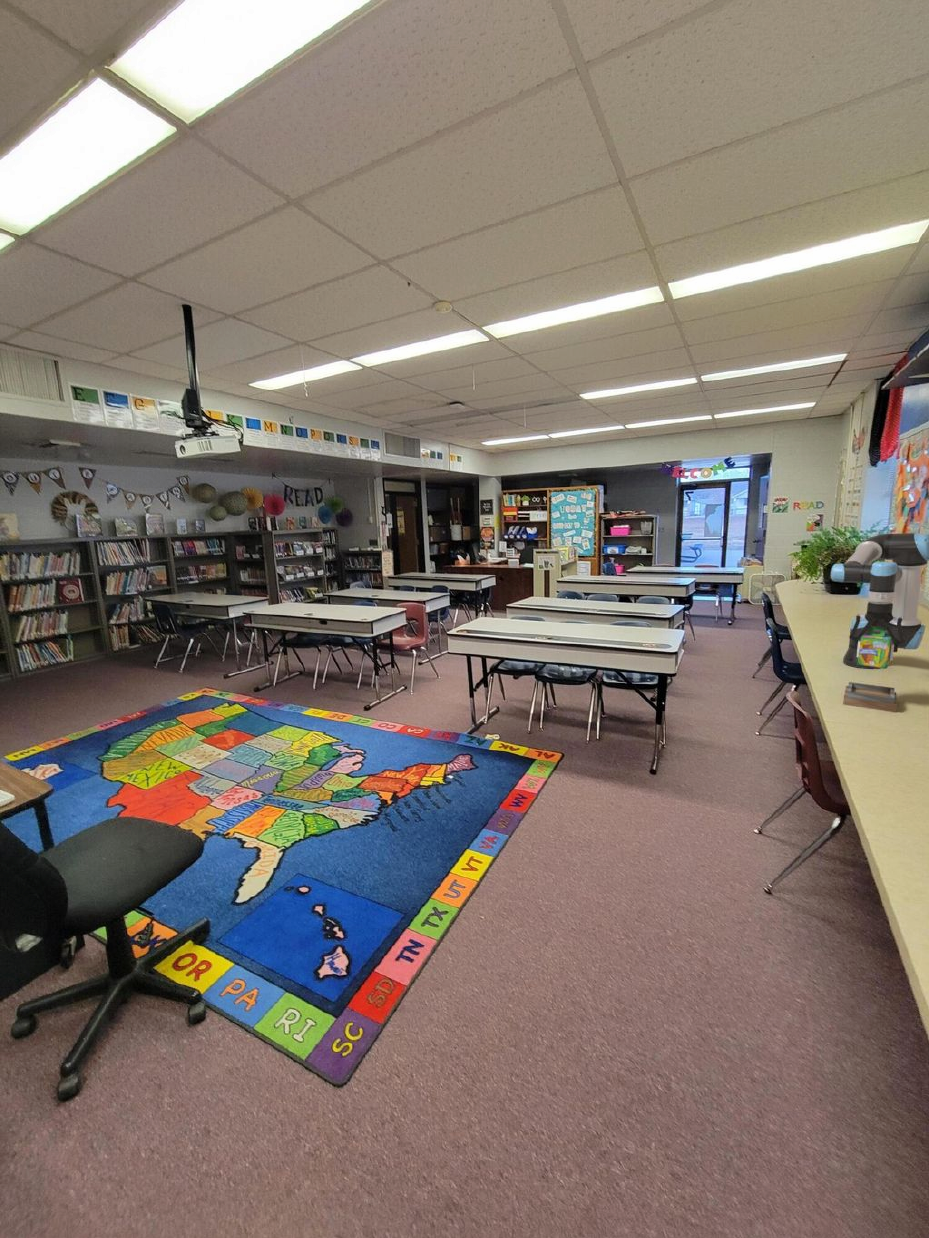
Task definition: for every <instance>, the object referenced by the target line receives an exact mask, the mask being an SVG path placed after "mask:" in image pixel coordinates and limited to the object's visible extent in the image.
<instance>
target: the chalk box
mask: <svg viewBox="0 0 929 1238" xmlns="http://www.w3.org/2000/svg"><path fill="white" fill-rule="evenodd" d="M875 630H879V631H881V633H880V634H875V633H874V631H875ZM885 631H886V629H885V628H877V627H871V628H870V633H864V634H863V635H862V637H861V640H860V647H859V655H858V663H857V665H863V666H870V667H877V668H876V669H884V670H887V668H888V666H889V665H890V662H891V661H890V652H891V644H892V638H891V637H890V636H889V635H885Z"/></svg>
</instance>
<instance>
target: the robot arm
mask: <svg viewBox="0 0 929 1238" xmlns="http://www.w3.org/2000/svg"><path fill="white" fill-rule="evenodd" d="M877 560H887V561H877ZM890 560H891V561H890ZM875 561H877V562H875ZM928 561H929V533H924V532H923V533H918V532H911V533H908V532H907V533H903V532H902V533H881V534H876V535H874V536H871V537H869V538H867V539H865V540H863V541H861V542H860V543H858V545H857V546H856V547H855V550H854V553H853V554H852V555H851V556H850V557H849V558H848V559H846V561H845V562H844V563H834V564H833V565H832V567H831V571H830V578H831V579H830V580H831V581H832V582H836V583H838V582H839V583H855V584H856V583H859V584H869V590H868V597H867V599H868V600H867V605H866V606H867V607H866V613H865V614H856V616H855V619H852V621H851V624H850V628H849V629H850V630H849V637H848V638H849V641H848V642H849V643H848V649H847V650H846V652H845V653H844V656H843V658H842V663H843V664H844V665H845V666H846V665H847V666H849V667H854V668H860V669H873V670H874V669H878V668H877V667H870V666H863V665H857V663H858V655H859V647H860V640H861V637H862V635H863V634H864V633H870V628H871V627H877V628H885V629H886V631H885V635H889V636H890V637H891V638H892V644H891V652H890V661H889V662H892V661H893V657H894V653H898V650H899V649H902V650H917V649H918V648H919V647H920V645H921V643H922V641H923V637H924V634H925V631H926V625H924V624H922V620H921V619H919V618H918V614H919V613H918V612H919V611H918V610H919V604H920V603H919V600H920V592H921V591H920V590H921V583H922V582H921V581H922V580H921V579H922V570H923V568H924V567H925V566H926V565H927V564H928ZM872 562H873V563H872ZM874 633H875V634H880V633H881V631H879V630H875V631H874Z"/></svg>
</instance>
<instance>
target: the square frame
mask: <svg viewBox="0 0 929 1238" xmlns="http://www.w3.org/2000/svg"><path fill="white" fill-rule="evenodd" d="M842 705H845V706H846V705H847V706H851V707H857V708H858V707H860V708H865V709H871V710H872V709H873V710H878V711H885V712H891V713H897V707H898V697H897V691H895V687H891V686H883V685H876V684H875V685H874V684H867V683H858V682H851V681H849V682H848V685H845V690H844V695H843V702H842Z"/></svg>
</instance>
